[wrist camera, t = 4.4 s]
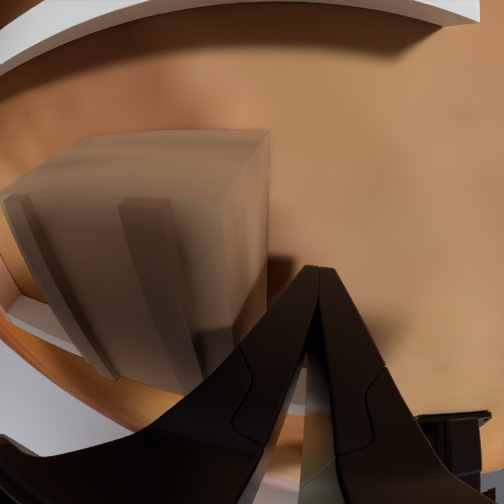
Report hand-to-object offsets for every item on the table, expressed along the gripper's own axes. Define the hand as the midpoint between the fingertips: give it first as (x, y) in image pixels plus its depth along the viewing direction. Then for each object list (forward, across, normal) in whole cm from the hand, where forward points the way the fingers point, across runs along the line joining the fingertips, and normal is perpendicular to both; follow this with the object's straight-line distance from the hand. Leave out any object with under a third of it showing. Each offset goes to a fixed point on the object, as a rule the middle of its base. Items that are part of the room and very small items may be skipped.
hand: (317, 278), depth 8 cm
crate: (+2, +5, 0) cm, 5 cm away
